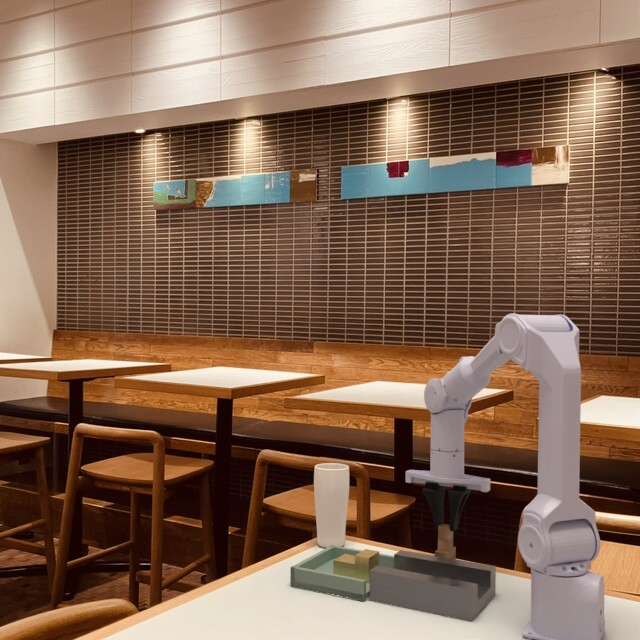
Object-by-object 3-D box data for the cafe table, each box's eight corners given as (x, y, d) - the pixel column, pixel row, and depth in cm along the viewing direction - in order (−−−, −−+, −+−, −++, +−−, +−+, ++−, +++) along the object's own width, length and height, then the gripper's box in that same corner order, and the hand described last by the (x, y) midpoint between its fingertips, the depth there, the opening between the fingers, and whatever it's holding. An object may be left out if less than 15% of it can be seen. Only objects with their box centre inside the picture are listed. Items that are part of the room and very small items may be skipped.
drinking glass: (345, 551, 137) (346, 470, 137) (309, 549, 138) (310, 468, 139) (351, 541, 144) (352, 463, 144) (317, 538, 145) (318, 462, 145)
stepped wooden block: (455, 561, 128) (456, 523, 128) (445, 568, 124) (446, 529, 124) (444, 559, 129) (445, 521, 129) (434, 566, 125) (435, 527, 125)
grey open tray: (495, 595, 116) (495, 566, 116) (471, 621, 105) (472, 589, 105) (400, 577, 123) (400, 550, 123) (369, 600, 113) (369, 570, 113)
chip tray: (399, 574, 124) (400, 557, 124) (363, 601, 112) (363, 581, 112) (331, 562, 131) (331, 545, 131) (290, 586, 119) (290, 567, 119)
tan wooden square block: (366, 572, 122) (366, 557, 122) (355, 579, 119) (355, 564, 119) (344, 568, 124) (344, 553, 124) (333, 575, 121) (333, 560, 121)
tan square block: (379, 551, 121) (365, 549, 122) (368, 558, 117) (354, 555, 119) (379, 576, 121) (365, 573, 122) (368, 583, 117) (354, 580, 119)
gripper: (495, 449, 127) (495, 529, 127) (416, 442, 134) (415, 517, 134) (483, 455, 121) (482, 539, 121) (401, 447, 128) (400, 526, 128)
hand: (446, 528), depth 127 cm, fingers closed on stepped wooden block, 2 cm apart
